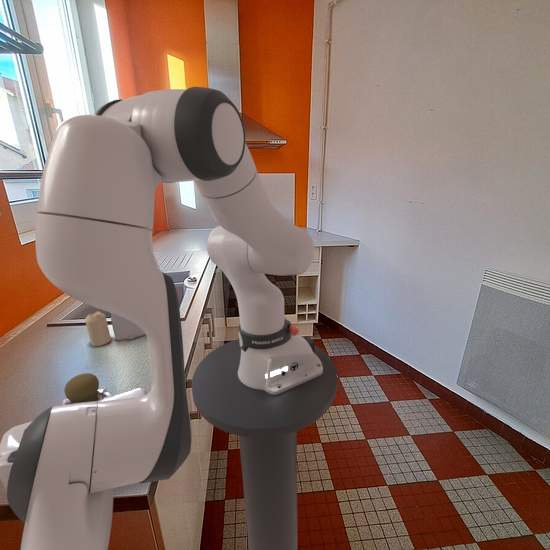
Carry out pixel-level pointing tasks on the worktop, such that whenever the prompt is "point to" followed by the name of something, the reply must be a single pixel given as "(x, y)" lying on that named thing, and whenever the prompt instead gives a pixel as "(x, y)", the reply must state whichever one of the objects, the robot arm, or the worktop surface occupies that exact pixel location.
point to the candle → (97, 329)
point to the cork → (82, 388)
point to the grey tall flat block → (125, 328)
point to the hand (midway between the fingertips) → (85, 395)
